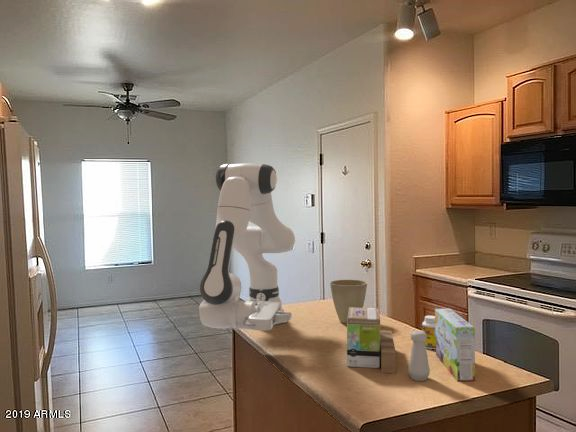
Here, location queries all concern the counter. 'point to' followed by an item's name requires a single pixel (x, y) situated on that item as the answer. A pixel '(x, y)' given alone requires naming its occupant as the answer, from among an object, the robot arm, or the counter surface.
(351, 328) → the tea box
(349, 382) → the counter surface
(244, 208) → the robot arm
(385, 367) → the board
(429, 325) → the supplement bottle
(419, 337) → the salt shaker
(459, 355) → the snack box
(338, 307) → the plant pot
